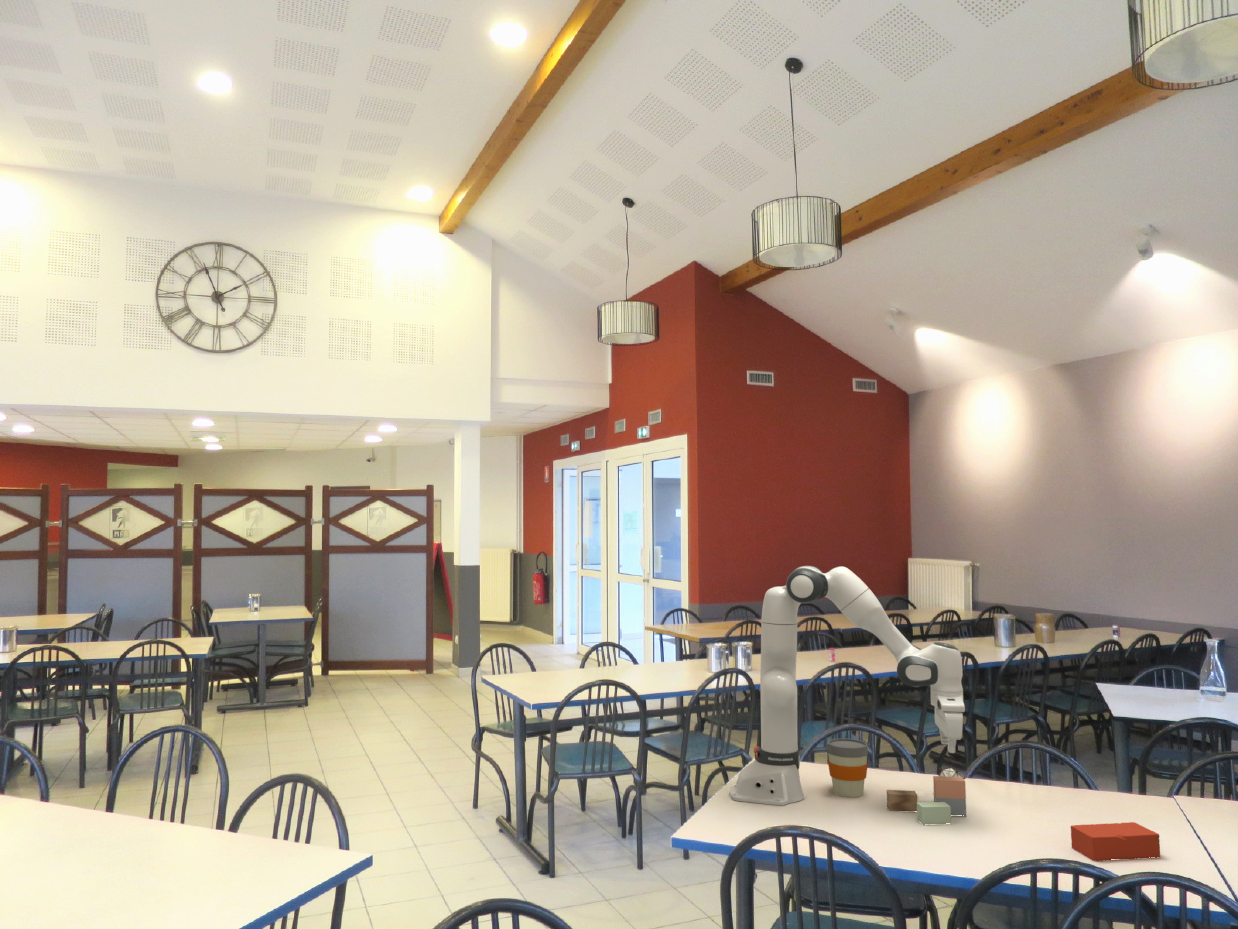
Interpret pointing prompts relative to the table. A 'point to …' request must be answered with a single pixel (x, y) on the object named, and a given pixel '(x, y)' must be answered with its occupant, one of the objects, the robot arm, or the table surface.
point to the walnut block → (901, 800)
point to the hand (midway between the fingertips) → (947, 748)
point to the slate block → (954, 805)
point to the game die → (949, 773)
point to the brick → (1115, 841)
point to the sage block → (933, 813)
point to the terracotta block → (949, 787)
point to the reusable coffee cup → (847, 766)
